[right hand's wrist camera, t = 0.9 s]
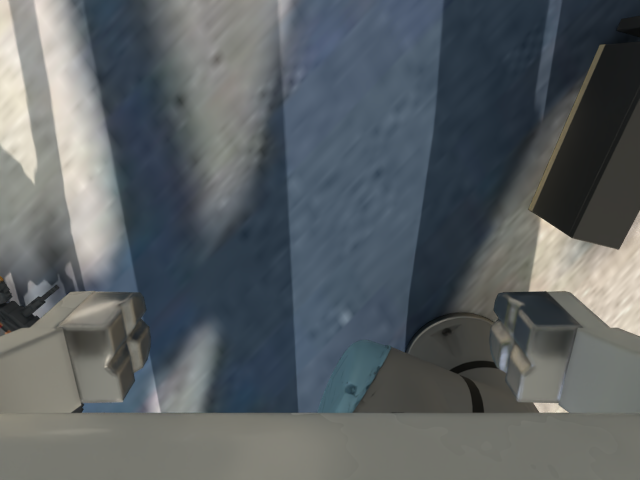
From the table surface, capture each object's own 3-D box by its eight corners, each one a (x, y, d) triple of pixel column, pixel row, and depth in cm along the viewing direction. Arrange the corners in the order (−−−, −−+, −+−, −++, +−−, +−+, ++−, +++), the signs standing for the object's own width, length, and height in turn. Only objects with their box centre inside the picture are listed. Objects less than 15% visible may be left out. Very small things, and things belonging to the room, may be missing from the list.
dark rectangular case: (599, 44, 50) (668, 38, 40) (644, 57, 50) (722, 54, 40) (528, 209, 57) (571, 238, 47) (567, 219, 57) (619, 250, 47)
